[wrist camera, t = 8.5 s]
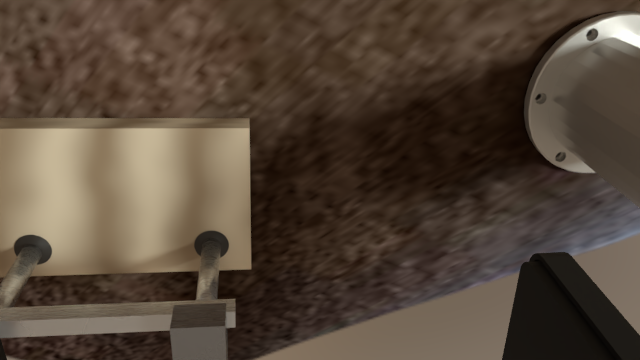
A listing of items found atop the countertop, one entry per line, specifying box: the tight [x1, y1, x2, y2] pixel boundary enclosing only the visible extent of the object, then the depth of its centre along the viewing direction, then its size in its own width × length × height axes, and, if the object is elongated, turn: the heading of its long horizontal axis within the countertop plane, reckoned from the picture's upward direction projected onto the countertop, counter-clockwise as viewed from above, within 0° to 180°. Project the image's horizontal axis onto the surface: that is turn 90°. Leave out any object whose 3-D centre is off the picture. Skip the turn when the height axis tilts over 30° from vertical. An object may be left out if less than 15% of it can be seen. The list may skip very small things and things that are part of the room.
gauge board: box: [0, 118, 251, 277], centre depth 42 cm, size 20×12×2 cm, turn 88°
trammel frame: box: [0, 238, 236, 360], centre depth 37 cm, size 18×4×12 cm, turn 88°
